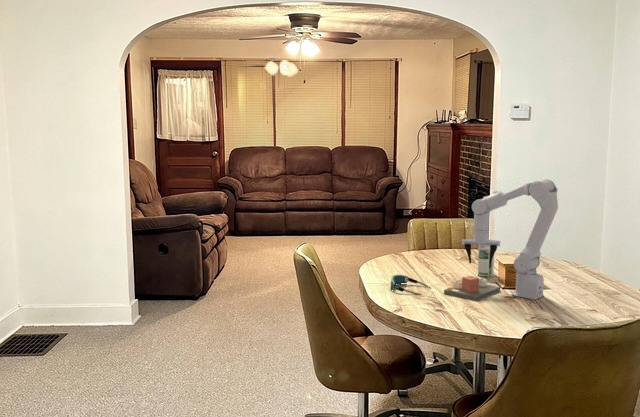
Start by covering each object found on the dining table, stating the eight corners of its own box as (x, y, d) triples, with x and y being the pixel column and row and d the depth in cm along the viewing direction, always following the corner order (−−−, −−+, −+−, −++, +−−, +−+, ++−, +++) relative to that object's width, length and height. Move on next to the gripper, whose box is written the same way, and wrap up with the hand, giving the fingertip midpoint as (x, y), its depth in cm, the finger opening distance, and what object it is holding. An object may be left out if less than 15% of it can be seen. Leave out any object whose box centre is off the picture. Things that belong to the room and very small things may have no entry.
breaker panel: (500, 290, 236) (500, 284, 236) (477, 300, 223) (477, 294, 223) (467, 284, 246) (468, 278, 245) (444, 293, 233) (444, 287, 232)
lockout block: (478, 291, 230) (479, 278, 229) (469, 292, 228) (469, 279, 227) (471, 288, 234) (471, 275, 233) (461, 289, 232) (462, 277, 231)
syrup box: (477, 276, 259) (478, 242, 257) (480, 273, 264) (481, 240, 262) (490, 277, 257) (492, 243, 255) (493, 274, 262) (495, 241, 260)
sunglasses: (398, 283, 250) (399, 271, 249) (432, 292, 242) (434, 280, 241) (383, 291, 238) (385, 279, 237) (419, 301, 230) (421, 289, 229)
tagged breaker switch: (462, 287, 235) (463, 280, 234) (458, 289, 233) (459, 282, 232) (457, 286, 236) (457, 279, 236) (453, 288, 234) (453, 280, 234)
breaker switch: (486, 285, 238) (486, 278, 237) (482, 286, 236) (482, 279, 235) (480, 284, 239) (481, 277, 239) (477, 285, 237) (477, 278, 237)
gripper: (462, 230, 237) (461, 264, 239) (501, 231, 234) (499, 266, 236) (462, 227, 244) (461, 260, 246) (499, 228, 241) (498, 262, 243)
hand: (480, 263), depth 241 cm, fingers open, 7 cm apart
